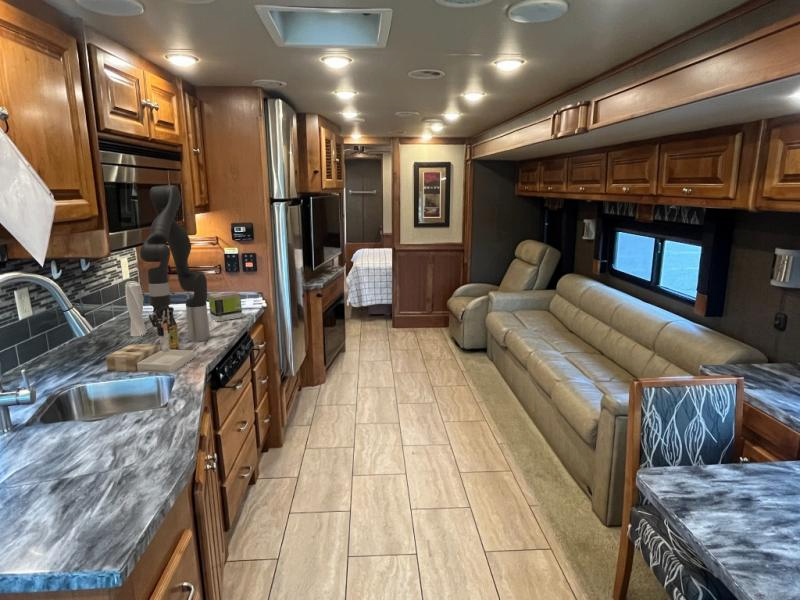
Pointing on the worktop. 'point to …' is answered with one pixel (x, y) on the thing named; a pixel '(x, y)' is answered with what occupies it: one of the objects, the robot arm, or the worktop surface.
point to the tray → (165, 361)
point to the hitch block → (130, 357)
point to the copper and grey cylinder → (165, 339)
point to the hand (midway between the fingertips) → (163, 334)
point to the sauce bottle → (173, 335)
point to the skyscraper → (135, 308)
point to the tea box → (225, 306)
